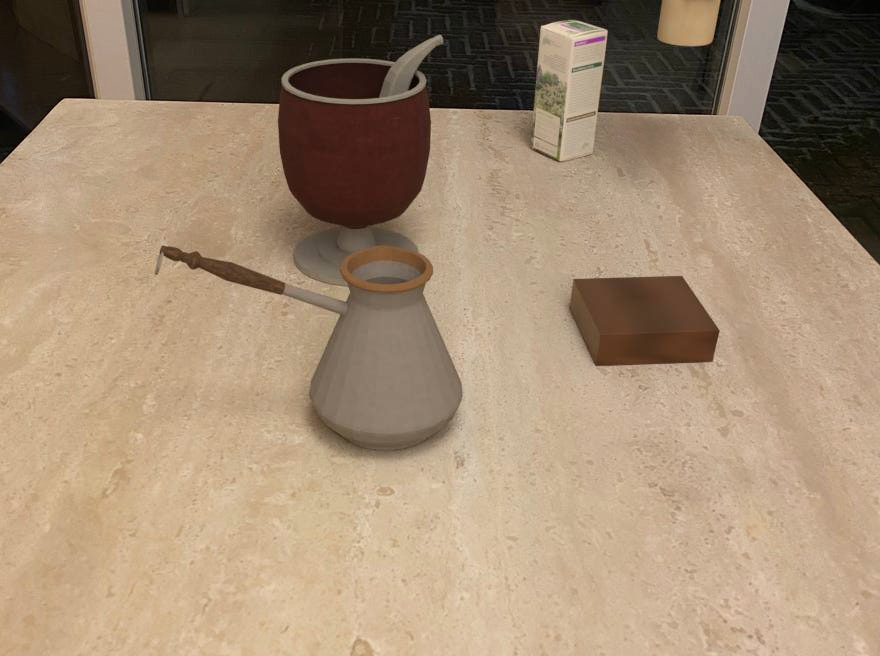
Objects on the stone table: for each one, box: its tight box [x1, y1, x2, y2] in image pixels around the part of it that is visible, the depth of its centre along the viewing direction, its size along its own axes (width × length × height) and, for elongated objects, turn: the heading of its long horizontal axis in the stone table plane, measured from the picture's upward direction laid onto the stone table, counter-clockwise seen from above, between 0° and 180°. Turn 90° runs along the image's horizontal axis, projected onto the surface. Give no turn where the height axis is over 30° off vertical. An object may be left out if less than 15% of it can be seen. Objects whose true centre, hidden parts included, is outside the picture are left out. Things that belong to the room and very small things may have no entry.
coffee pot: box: [154, 245, 464, 451], centre depth 71 cm, size 21×12×15 cm, turn 97°
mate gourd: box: [277, 34, 444, 287], centre depth 93 cm, size 16×14×20 cm
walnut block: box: [568, 275, 720, 367], centre depth 87 cm, size 10×10×3 cm
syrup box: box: [530, 19, 609, 162], centre depth 119 cm, size 6×6×14 cm
